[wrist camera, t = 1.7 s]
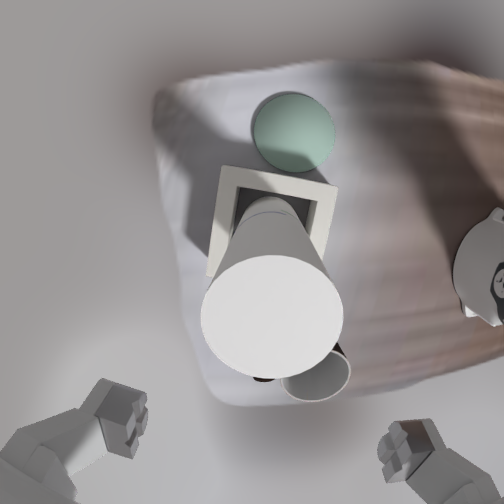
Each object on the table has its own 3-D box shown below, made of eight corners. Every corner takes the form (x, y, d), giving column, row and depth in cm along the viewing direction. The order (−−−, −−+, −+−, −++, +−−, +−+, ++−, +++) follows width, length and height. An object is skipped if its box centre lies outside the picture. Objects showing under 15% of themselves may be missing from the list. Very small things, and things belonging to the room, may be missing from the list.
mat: (339, 104, 34) (340, 103, 33) (326, 179, 37) (327, 179, 36) (261, 88, 34) (261, 87, 33) (248, 164, 37) (247, 164, 36)
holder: (329, 184, 37) (338, 187, 32) (308, 279, 40) (313, 294, 36) (227, 165, 37) (221, 165, 32) (213, 262, 40) (205, 276, 36)
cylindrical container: (244, 193, 38) (203, 247, 14) (301, 199, 37) (356, 263, 14) (239, 248, 40) (199, 370, 16) (294, 253, 40) (326, 382, 16)
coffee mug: (343, 313, 42) (361, 353, 32) (326, 360, 44) (337, 404, 35) (264, 300, 42) (263, 339, 32) (253, 349, 44) (249, 394, 35)
